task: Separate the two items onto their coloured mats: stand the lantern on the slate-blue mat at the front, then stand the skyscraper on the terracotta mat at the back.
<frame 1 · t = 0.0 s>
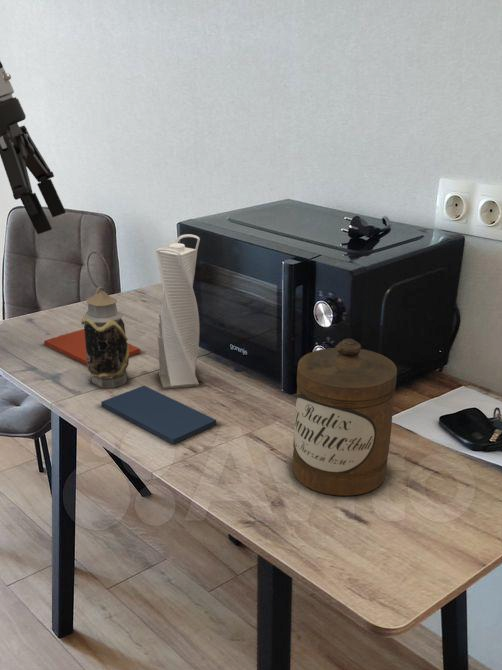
hand: (52, 223, 133), 27 cm above the table, tool tilted 20°, fingers open, 13 cm apart
mat terracotta: (92, 348, 152), on the table
lantern: (110, 381, 139), on the table
mat blue: (157, 415, 127), on the table
skyscraper: (182, 381, 139), on the table
wooden container: (338, 472, 112), on the table
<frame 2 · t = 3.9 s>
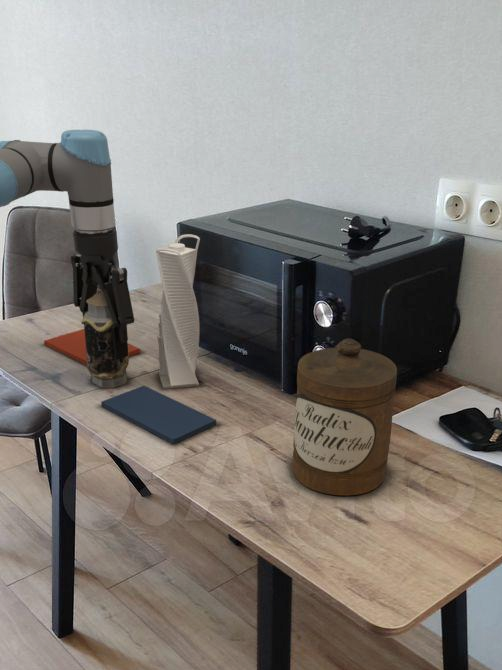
hand: (107, 350, 135), 6 cm above the table, tool pointing down, fingers closed on lantern, 8 cm apart
lantern: (110, 381, 139), on the table, touching gripper
everything else where it was.
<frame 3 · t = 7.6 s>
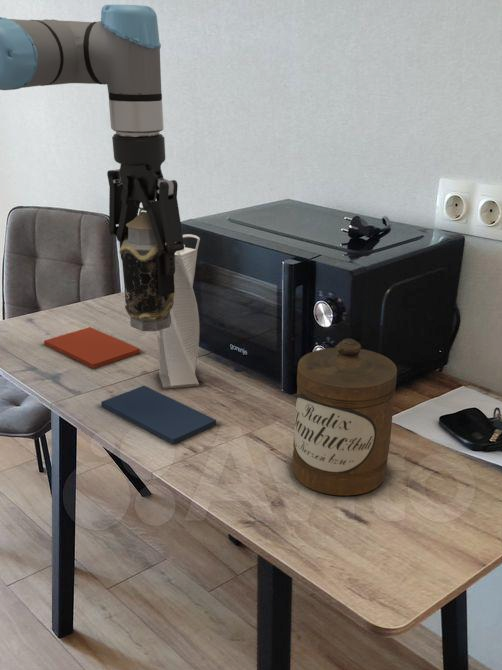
hand: (148, 287, 114), 23 cm above the table, tool pointing down, fingers closed on lantern, 8 cm apart
lantern: (151, 325, 118), point 17 cm above the table, touching gripper
everything else where it was.
when the fingers open (7 cm above the table, at t = 11.4 s): lantern stays where it is, resting on mat blue.
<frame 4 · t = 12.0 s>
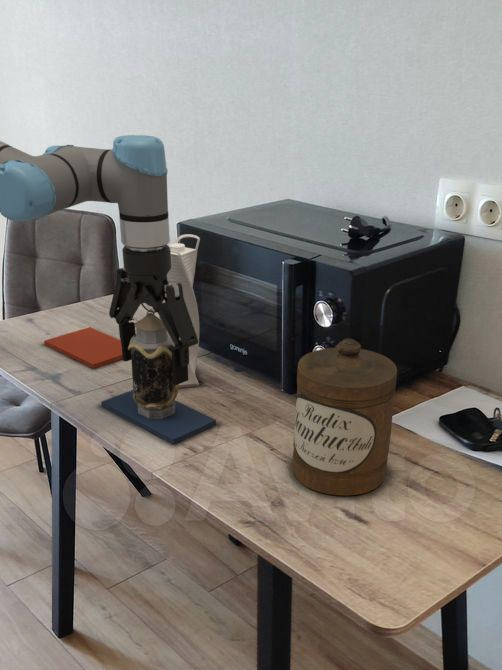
hand: (154, 370, 122), 9 cm above the table, tool pointing down, fingers open, 13 cm apart
lantern: (157, 411, 126), point 1 cm above the table, touching mat blue
everything else where it was.
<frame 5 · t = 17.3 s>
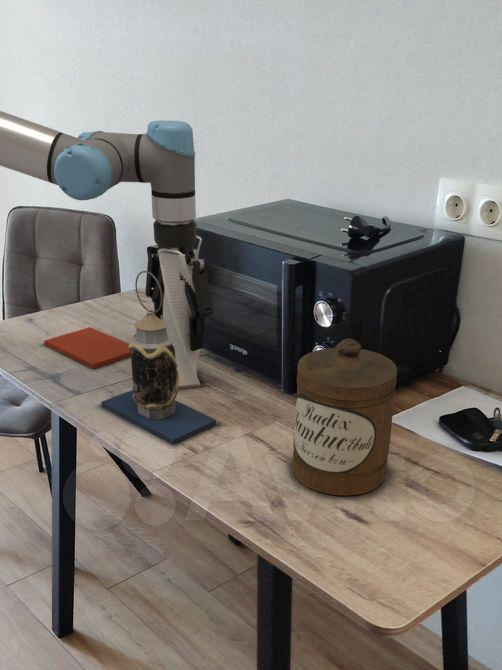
hand: (180, 341, 135), 8 cm above the table, tool pointing down, fingers closed on skyscraper, 9 cm apart
skyscraper: (184, 382, 139), on the table, touching gripper
everything else where it was.
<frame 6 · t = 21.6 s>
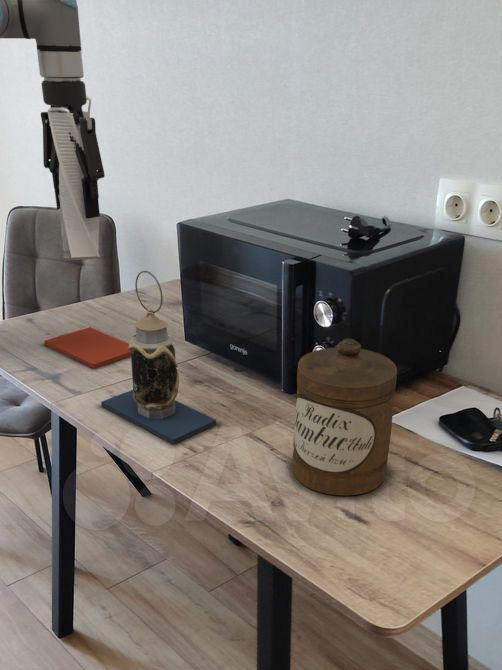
hand: (78, 212, 136), 28 cm above the table, tool pointing down, fingers closed on skyscraper, 9 cm apart
skyscraper: (85, 256, 140), point 20 cm above the table, touching gripper
everything else where it was.
when the fingers open (9 cm above the table, at t = 26.1 s): skyscraper stays where it is, resting on mat terracotta.
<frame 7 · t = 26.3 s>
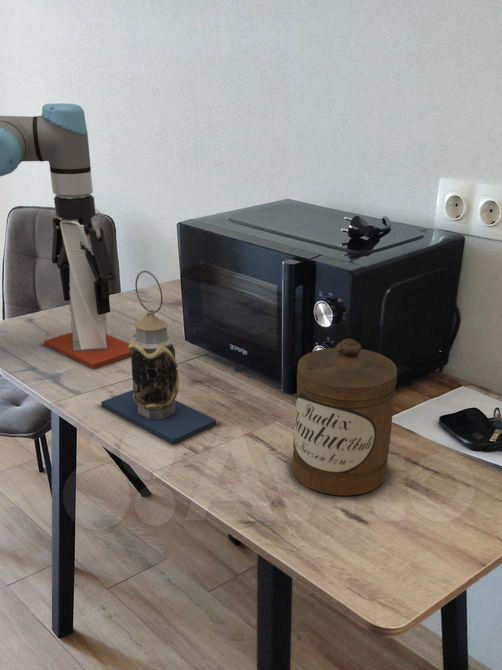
hand: (86, 306, 147), 9 cm above the table, tool pointing down, fingers open, 11 cm apart
skyscraper: (93, 346, 151), point 1 cm above the table, touching mat terracotta
everything else where it was.
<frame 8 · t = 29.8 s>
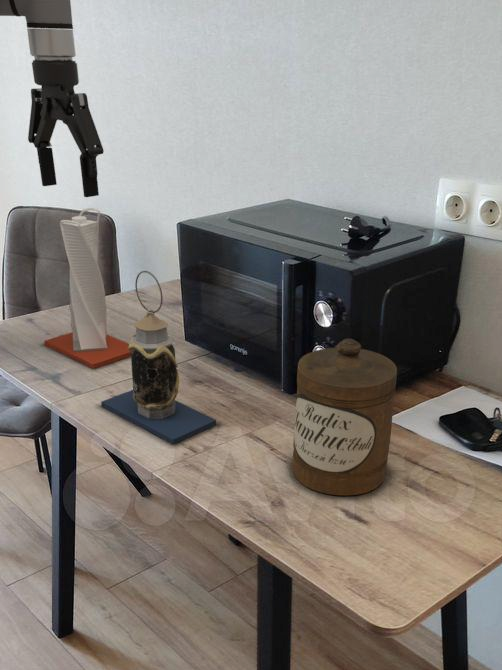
hand: (69, 190, 132), 33 cm above the table, tool pointing down, fingers open, 13 cm apart
nothing on the table moved.
at the end: lantern inside the target area on the mat blue (0.0 cm from its centre), point 0.8 cm above the mat blue's base; skyscraper inside the target area on the mat terracotta (0.8 cm from its centre), point 0.8 cm above the mat terracotta's base; skyscraper tilted 0° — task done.
